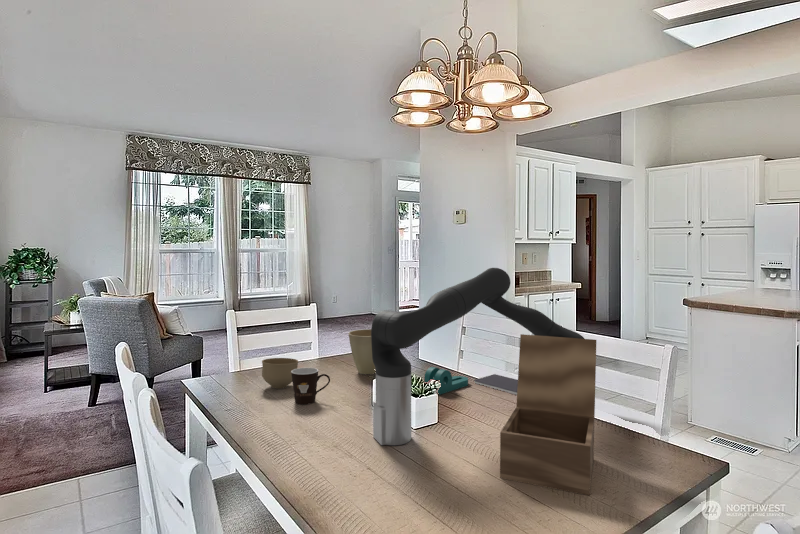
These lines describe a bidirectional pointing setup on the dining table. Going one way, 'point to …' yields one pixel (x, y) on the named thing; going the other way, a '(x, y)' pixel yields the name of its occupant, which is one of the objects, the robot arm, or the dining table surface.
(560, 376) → the box lid
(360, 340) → the plant pot
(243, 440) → the dining table surface
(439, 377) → the bracket
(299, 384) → the coffee mug
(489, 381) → the notebook
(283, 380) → the bowl
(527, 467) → the wooden box
